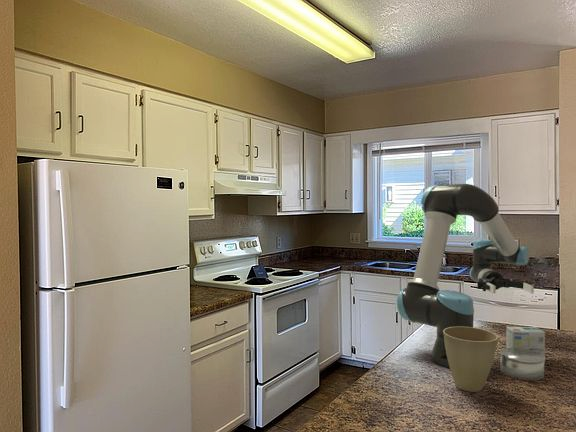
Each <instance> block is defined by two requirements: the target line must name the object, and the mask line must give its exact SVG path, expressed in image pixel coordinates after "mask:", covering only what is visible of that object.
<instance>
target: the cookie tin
mask: <svg viewBox="0 0 576 432" xmlns="http://www.w3.org/2000/svg"><path fill="white" fill-rule="evenodd" d="M499 355H500V358H499V359H500V366H499V367H500V368H499V370H500V372H501V373H503V374H504V375H505V374H506V376H507V377H509V378H513V377H514V379H517V378H518V380H524V381H539V380H543V379H544V378H545V363H544V361H545V362H546V355H545V356H544V355H543V354H541V353H538V352H536V351H532V350H528V349H522V348H506V347H505V348H501V349H500V350H499Z"/></svg>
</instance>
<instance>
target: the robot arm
mask: <svg viewBox="0 0 576 432" xmlns="http://www.w3.org/2000/svg"><path fill="white" fill-rule="evenodd" d="M420 203H421V210H422V212H423V213H424V217H425V218H426V220H427V221H426V225H425V229H424V232H423V233H424V234H423V236H422V237H423V238H422V241H421V246H420V249H419V254H418V258H417V262H416V266H415V270H414V275H413V279H411V280H409V281H408V282H407V286H406V287H403V288H402V289H400V291H399V292H398V294H397V298H396V308H397V310H398V314H399V315H400V317H402V319H403V320H405V321H409V322H411V323H417V324H420V325H427V326H430V327H435V328H436V339H435V341H434V344H433V347H432V350H431V361H432V362H433V363H435V364H436V365H438V366H442V367H444V368H445V367H446V368H449V369H450V366H449V363H448V358H447V354H446V349H445V342H444V334H443V330H444V329H446V328H449V327H473V328H474V318H475V317H474V313H475V309H474V301H473V299H472V297H471V296H469V295H468V294H466V293H463V292H461V291H460V292H459V291H456V290H448V289H443V290H441V289H440V288H439V286H438V284H439V283H438V282H439V277H440V274H441V270H442V265H443V260H444V255H445V251H446V247H447V242H448V237H449V233H450V230H451V226H452V225H453V224H455V223H456V222H457V217H458V216H468V217H469V216H470V217H472V218H473V219H474V221H475V222H478V223H479V224H480V225H481V228H483V230H484V231H485V233H486V234H487V236H488V238H489V239H488V238H482V239H481V238H480V239H479V238H477V239H474V240H473V242H472V243H473V244H472V245H473V246H472V267H471V269H470V271H469V277H470V278H471V279H472V280H473V282H475V283H476V284H477V285H476V287H477V288H476V289H478V290H480V289H482V292H487V291H488V292H491V294H496V290H499V289H501V288H506V289H509V288H512V289H513V288H515V289H521V290H523V291H525V292H528V293H530V294H534V289H535V288H534V287H535V286H534V285H533V284H532V283H533V282H530V281H529V280H519V279H515V278H505V277H503V275H502V274H501V273H500V272H497V271H495V270H493V269H492V266H493V264H492V263H498V264H505V265H506V264H507V265H515V266H526V265H527V264H528V263H529V261H530V250H529V249H528V247H525V246H522V245H521V246H519V245H518V243H517V242H516V240H515V238H514V235H512V232H511V231H510V229H509V228H508V227H507V225H506V223H505V221H504V219H503V218H502V215H500V213H499V211H500V210H499V209H500V208H499V205H498V203H497V202H496V200H495V199H494V198H493V197H492V196H491V195H490V194H489V193H488V192H486V191H485V190H483V189H482V188H480V186H479V187H478V186H477V185H474V184H470V183H462V184H459V183H458V184H457V183H456V184H453V183H452V184H442V183H440V184H435V185H433V184H432V185H430V186H429V187H427V188H426V189H425V190H424V192H423V194H422V196H421V201H420Z"/></svg>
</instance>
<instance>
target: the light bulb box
mask: <svg viewBox="0 0 576 432" xmlns="http://www.w3.org/2000/svg"><path fill="white" fill-rule="evenodd" d="M505 327H506V328H505V329H506V330H505V334H506V336H505V337H506V339H505V340H506V341H505V342H506V343H505V344H506V345H505V348H522V349H528V350H532V351H536V352H538V353H541V354H543V355H544V356H545V357H546V331H544V330H542V329H541V328H539V327H537V326H505ZM545 362H546V360H545V361H544V364H545Z"/></svg>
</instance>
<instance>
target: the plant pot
mask: <svg viewBox="0 0 576 432" xmlns="http://www.w3.org/2000/svg"><path fill="white" fill-rule="evenodd" d="M443 334H444V342H445V349H446V354H447V358H448V363H449V366H450V368H449V369H450V373H451V376H452V379H453V382H454V385H455V387H456V388H458V389H459V390H462V391H465V392H472V393H474V392H475V393H477V392H480V391H482V390H483V388H484V387H485V383H486V381H487V379H488V376H489V374H490V371H491V369H492V365H493V363H494V359H495V356H496V350H497V344H498V340H499V336H498V335H497V334H496V333H494V332H492V331H490V330H486V329H483V328H480V327H479V328H478V327H474V326H473V327H449V328H446V329H444V330H443Z"/></svg>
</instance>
